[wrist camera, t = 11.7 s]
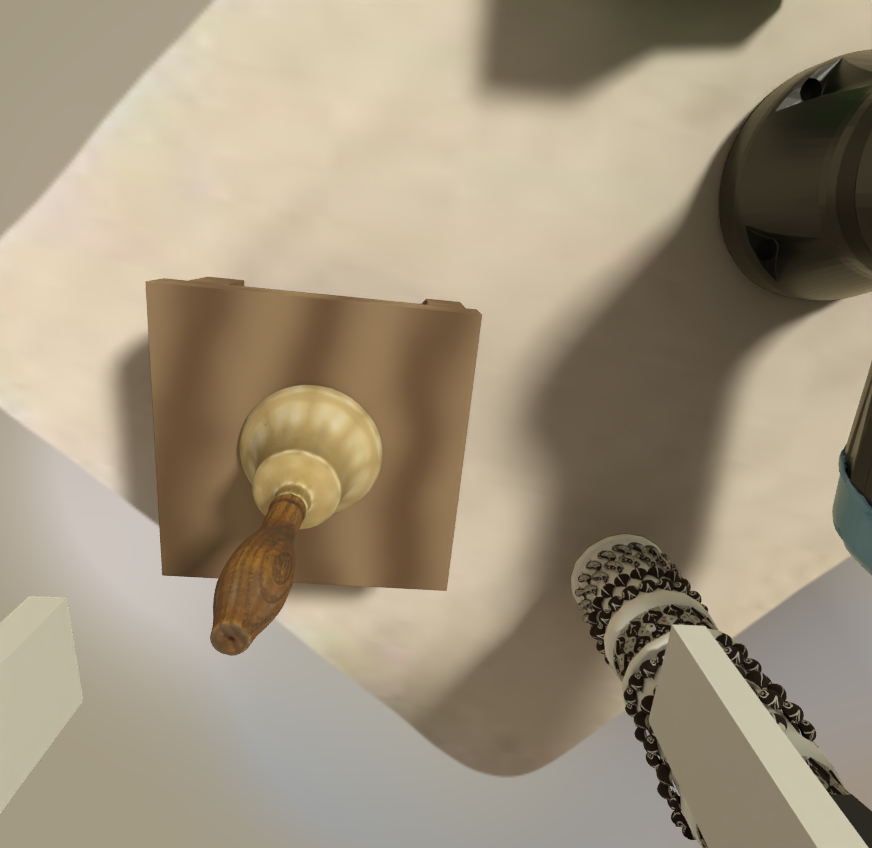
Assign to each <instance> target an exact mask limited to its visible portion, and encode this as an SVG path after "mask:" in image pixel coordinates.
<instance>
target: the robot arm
mask: <svg viewBox="0 0 872 848" xmlns="http://www.w3.org/2000/svg"><path fill="white" fill-rule="evenodd" d="M719 209H720V221H721V227H722V232H723V236H724V239H725V242H726V245H727V247H728V249H729V252H730V254H731V256H732V257H733V259H734V261H735V262H736V264H737V265H738V266H739V268H740V269H741V270H742V271H743V272H744V273H745V274H746V275H747V276H748V277H749V278H750V279H751V280H752V281H754V282H755V283H756V284H758V285H759V286H761V287H763V288H764V289H766V290H769V291H771V292H773V293H776V294H779V295H783V296H787V297H794V298H801V299H808V300H837V299H844V298H849V297H853V296H857V295H860V294H864V293H868V292H871V291H872V50H863V51H857V52H852V53H848V54H844V55H841V56H838V57H835V58H833V59H830V60H828V61H825V62H823V63H821V64H818V65H816V66H813V67H811V68H809V69H806V70H804V71H802V72H800V73H798V74H797V75H795V76H793V77H792V78H790V79H789V80H787V81H786V82H784V83H783V84H781V85H780V86H779V87H778V88H776V89H775V90H774V91H773V92H772V93H771V94H770V95H769V96H767V97H766V98H765V99H764V101H763V102H762V103H761V104H760V105H759V106H758V107H757V108H756V109H755V111H754V112H753V113H752V114H751V116H750V117H749V119H748V120H747V121H746V123H745V124H744V126H743V128H742V129H741V131H740V133H739V134H738V136H737V138H736V140H735V142H734V144H733V146H732V149H731V151H730V154H729V156H728V159H727V162H726V165H725V169H724V172H723V177H722V182H721V189H720V201H719ZM839 472H840V477H839V481H838V486H837V490H836V495H835V499H834V504H833V511H832V513H833V522H834V526H835V529H836V531H837V533H838V534H839V536H840V537H841V539H842V540H843V542H844V544H845V547H846V549H847V550H848V552H849V553H850V554H851V555H852V556H853V557H854V558H855V560H856V561H857V562H858V563H859V564H860V565H861V566H862V567H863V568H864V569H865V570H866V571H868V572H869V573H870V574H871V575H872V362H871V366H870V369H869V373H868V376H867V379H866V383H865V386H864V389H863V392H862V396H861V399H860V402H859V406H858V409H857V412H856V416H855V419H854V422H853V425H852V429H851V432H850V435H849V439H848V442H847V444H846V446H845V447H844V449H843V450H842V452H841V454H840V456H839ZM82 702H83V695H82V689H81V683H80V677H79V670H78V664H77V658H76V653H75V646H74V639H73V634H72V627H71V621H70V615H69V609H68V602H67V598H62V597H39V596H29V597H28V598H27V599H26V600H25V601H24V602H22V603H21V604H20V605H19V606H18V607H17V608H16V609H15V610H14V611H13V612H12V613H10V614H9V615H8V616H7V617H6V618H5V619H4V620H3V621H2V622H0V814H1V812H2V811H3V809H4V808H5V807H6V805H7V804H8V803H9V801H10V800H11V799H12V797H13V796H14V795H15V793H16V792H17V790H18V789H19V788H20V786H21V785H22V784H23V782H24V781H25V779H26V778H27V777H28V775H29V774H30V773H31V771H32V770H33V769H34V767H35V766H36V764H37V763H38V762H39V760H40V759H41V758H42V756H43V755H44V754H45V752H46V751H47V749H48V748H49V747H50V745H51V744H52V743H53V741H54V740H55V739H56V737H57V736H58V735H59V733H60V732H61V730H62V729H63V728H64V726H65V725H66V724H67V722H68V721H69V720H70V718H71V717H72V715H73V714H74V713H75V711H76V710H77V708H78V707H79V706H80V704H81V703H82ZM648 721H649V723H650V725H651V728H652V730H653V732H654V734H655V736H656V738H657V740H658V742H659V745H660V747H661V749H662V751H663V753H664V755H665V757H666V759H667V762H668V764H669V766H670V768H671V770H672V772H673V774H674V776H675V778H676V781H677V783H678V785H679V787H680V789H681V791H682V793H683V795H684V798H685V800H686V802H687V804H688V806H689V808H690V810H691V812H692V815H693V817H694V819H695V821H696V823H697V825H698V827H699V829H700V831H701V834H702V836H703V838H704V840H705V842H706V844H707V846H708V848H872V811H871V810H869V809H868V808H867V807H866V806H865V805H864V804H862V803H861V802H860V801H859V800H858V799H857V798H855V797H854V796H853V795H843V794H829V793H828V792H827V791H826V789H825V788H824V786H823V785H822V784H821V782H820V781H819V780H818V778H817V777H816V776H815V774H814V773H813V771H812V770H811V769H810V767H809V766H808V765H807V763H806V762H805V761H804V759H803V758H802V757H801V755H800V754H799V752H798V751H797V750H796V748H795V747H794V746H793V744H792V743H791V742H790V740H789V739H788V737H787V736H786V735H785V733H784V732H783V731H782V729H781V728H780V727H779V725H778V724H777V723H776V721H775V720H774V718H773V717H772V716H771V714H770V713H769V712H768V710H767V709H766V708H765V706H764V705H763V703H762V702H761V701H760V699H759V698H758V697H757V695H756V694H755V693H754V691H753V690H752V689H751V687H750V686H749V684H748V683H747V682H746V680H745V679H744V678H743V676H742V675H741V674H740V672H739V671H738V669H737V668H736V667H735V665H734V664H733V663H732V661H731V660H730V659H729V657H728V656H727V655H726V653H725V652H724V650H723V649H722V648H721V646H720V645H719V644H718V642H717V641H716V640H715V638H714V637H713V635H712V634H711V633H710V631H709V630H708V629H707V627H706V626H697V625H674V624H672V626H671V630H670V634H669V639H668V643H667V647H666V651H665V655H664V659H663V663H662V667H661V671H660V675H659V679H658V683H657V687H656V691H655V695H654V699H653V704H652V708H651V712H650V716H649V720H648Z"/></svg>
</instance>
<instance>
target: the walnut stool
mask: <svg viewBox="0 0 872 848" xmlns="http://www.w3.org/2000/svg"><path fill="white" fill-rule="evenodd" d="M146 298H147V315H148V333H149V350H150V368H151V385H152V403H153V420H154V438H155V455H156V473H157V490H158V508H159V525H160V542H161V559H162V575H167V576H184V577H203V578H219V576H220V574H221V572H222V570H223V568H224V566H225V564H226V562H227V561H228V560H229V558H230V557H231V555H232V554H233V553H234V551H235V550H236V549H237V548H238V546H239V545H240V544H241V543H242V542H243V541H244V540H246V539H247V538H248V537H249V536H251V535H253V534H254V533H256V532H257V531H258V530H259V529H260V527H261V526H262V524H263V521H264V519H265V516H264V515H263V513H262V512H261V511H260V510H259V508H258V507H257V505H256V503H255V500H254V496H253V492H252V484H251V483H250V481H249V480H248V478H247V476H246V474H245V472H244V469H243V466H242V463H241V458H240V451H239V444H240V437H241V432H242V429H243V426H244V424H245V421H246V419H247V417H248V416H249V414H250V413H251V412H252V410H253V409H254V408H255V407H256V406H257V405H258V404H259V403H260V402H261V401H262V400H264V399H265V398H266V397H268V396H269V395H271V394H273V393H275V392H277V391H279V390H282V389H285V388H288V387H292V386H298V385H315V386H323V387H327V388H332V389H334V390H337V391H339V392H341V393H343V394H345V395H347V396H349V397H350V398H352V399H353V400H354V401H356V402H357V403H359V404H360V406H361V407H362V408H363V409H364V410H365V411H366V412H367V413H368V414H369V415H370V417H371V418H372V420H373V421H374V423H375V425H376V427H377V429H378V432H379V435H380V438H381V442H382V453H383V455H382V464H381V469H380V472H379V475H378V478H377V480H376V482H375V483H374V485H373V487H372V488H371V489H370V491H369V492H368V493H367V494H366V495H365V496H364V497H363V498H362V499H361V500H360V501H359V502H357V503H356V504H354V505H353V506H351V507H349V508H347V509H345V510H343V511H340V512H338V513H334V514H332V515H331V517H329V518H328V519H327V520H326V521H324V522H323V523H321V524H319V525H317V526H314V527H311V528H307V529H299V530H298V533H297V535H296V537H295V539H294V543H293V546H294V552H295V571H294V577H293V582H294V583H312V584H331V585H349V586H367V587H385V588H404V589H422V590H440V591H447V583H448V575H449V568H450V560H451V552H452V544H453V537H454V529H455V521H456V513H457V505H458V498H459V490H460V482H461V474H462V467H463V459H464V451H465V443H466V436H467V428H468V420H469V412H470V404H471V397H472V389H473V381H474V373H475V366H476V358H477V350H478V342H479V334H480V327H481V319H482V314H481V313H480V312H478V311H477V310H475V309H466V308H465V307H464V306H463V305H462V304H461V303H460V302H453V301H443V300H433V299H426V305H425V304H415V303H405V302H395V301H385V300H375V299H365V298H355V297H345V296H335V295H325V294H315V293H305V292H295V291H285V290H275V289H265V288H255V287H245V286H244V280H235V279H225V278H215V277H205V278H200V279H195V280H190V281H184V280H174V279H158V280H152V281H146Z"/></svg>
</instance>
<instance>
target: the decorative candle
mask: <svg viewBox="0 0 872 848" xmlns="http://www.w3.org/2000/svg"><path fill="white" fill-rule="evenodd" d="M571 586H572V594H573V596H574V598H575V599H576V601H577V602H578V604H577V608H578V609H579V610H584V611H585V612H587V613H586V614H585V615H584V616H583V618H582V619H583V621H584V622H587V623H588V622H589V623H590V624H591V625H593V626H592V627H591V630H590V635H591V636H592V637H593V638H594V639H597V640H598V642H597V646H596V647H597V650H598V651H599V652H600V653H602V654H605V661H606V663H607V664H608V665H611V667H612V669H613V670H614V672H615V673H616V674H617V676H618V677H619V679H620V680H621V682H622V689H623V699H624V703H625V705H626V707H625V710H626V712H627V713H628V715H630V716H631V717H634V723H635V725H636V726H637V727H638V728H637V729H636V731H635V737H636V738H637V739H638V740H639V741H640V742H643V744H644V748H645V750H646V751H647V754H646V760H647V762H648V764H649V765H650V766H651V767H653V768H656V772H657V778H658V780H659V781H660V783H659V785H658V788H657V790H658V793H659V794H660V795H661V796H662V797H663V798H664V799H667V802H668V805H669V806H670V808H671V809H673V810H674V812H673V813H672V815H671V820H672V821H673V823H675V825H676V826H677V827H682V832H683V835H684V836H685V837H687V838H688V839H690V840H696V839H697V841H698V842H699V843H700V845H701V846H702V848H708V846H707V844H706V842H705V840H704V838H703V836H702V834H701V831H700V829H699V827H698V825H697V823H696V821H695V819H694V817H693V815H692V812H691V810H690V808H689V806H688V804H687V802H686V800H685V798H684V795H683V793H682V791H681V789H680V787H679V785H678V783H677V781H676V778H675V776H674V774H673V772H672V770H671V768H670V766H669V764H668V762H667V759H666V757H665V755H664V753H663V751H662V749H661V747H660V745H659V742H658V740H657V738H656V736H655V734H654V732H653V730H652V728H651V725H650V723H649V721H648V720H649V716H650V712H651V708H652V704H653V699H654V695H655V691H656V687H657V683H658V679H659V675H660V671H661V667H662V663H663V659H664V655H665V651H666V647H667V643H668V639H669V634H670V630H671V626H672V624H674V625H697V626H706V627H707V629H708V630H709V631H710V633H711V634H712V635H713V637H714V638H715V640H716V641H717V642H718V644H719V645H720V646H721V648H722V649H723V650H724V652H725V653H726V655H727V656H728V657H729V659H730V660H731V661H732V663H733V664H734V665H735V667H736V668H737V669H738V671H739V672H740V674H741V675H742V676H743V678H744V679H745V680H746V682H747V683H748V684H749V686H750V687H751V689H752V690H753V691H754V693H755V694H756V695H757V697H758V698H759V699H760V701H761V702H762V703H763V705H764V706H765V708H766V709H767V710H768V712H769V713H770V714H771V716H772V717H773V718H774V720H775V721H776V723H777V724H778V725H779V727H780V728H781V729H782V731H783V732H784V733H785V735H786V736H787V737H788V739H789V740H790V742H791V743H792V744H793V746H794V747H795V748H796V750H797V751H798V752H799V754H800V755H801V757H802V758H803V759H804V761H805V762H806V763H807V765H808V766H809V767H810V769H811V770H812V771H813V773H814V774H815V776H816V777H817V778H818V780H819V781H820V782H821V784H822V785H823V786H824V788H825V789H826V791H827V792H828V793H829V794H843V795H851V794H850V793H849V792H848V791H847V790H846V789H845V788H844V787H843V783H842V781H841V779H840V778H839V776H838V775H837V772H836V771H835V769H834V767H833V766H832V764H831V763H830V762H829V761H828V759H827V758H826V757H825V756H824V755H823V753H822V752H821V751H820V750H819V748H818V746H817V745H816V744H815V743H814V742H813V740H814V739H815V738H816V731H815V729H814V727H813V726H812V725H811V724H810V723H809V722H808V721H806V720H803V716H804V715H803V711H802V709H801V708H800V707H799V706H797V705H796V704H794V703H790V702H787V701H785V700H786V691H785V689H784V688H783V687H782V686H781V685H778V684H772V682H771V680H770V679H769V678H768V677H767V676H766V675H764V674H763V673H761V665H760V663H759V662H757V661H756V660H754V659H751V658H747V657H748V651H747V649H746V647H745V646H744V645H742V644H739V643H738V642H737V641H735V640H734V639H732V638H731V637H730V636H728V635H727V634H724V633H722V632H721V631H719V630H718V628H717V627H716V625H715V623H714V622H713V620H712V618H711V617H710V615H709V614H708V608H707V607H706V606H705V605H703V604H700V603H701V596H700V594H699V593H698V592H696V591H690V588H691V586H690V583H689V582H688V580H686V579H683V578H682V577H681V574H680V571H679V569H678V567H677V566H676V565H674V564H671V560H670V558H669V557H668V556H667V555H666V554H663V553H662V552H661V550H660V548H659V547H658V546H657V545H655V544H654V543H652V542H651V541H649V540H648V539H646V538H644V537H642V536H636V535H630V534H620V535H615V536H610V537H605V538H604V539H602V540H600V541H598V542H597V543H595V544H593V545H591V546H590V547H588V548H587V549H586V551H585V552H584V553H583V554H582V555H581V556H580V558H579V559H578V560H577V561H576V563H575V566H574V569H573V572H572V575H571ZM781 709H782V711H783V713H782V712H781V711H780V710H781ZM793 721H795V723H793ZM646 729H647V730H648V732H649V734H650V735H648V736H647V734H646ZM799 729H800V731H801V734H802V736H801V735H800V731H799ZM657 755H659V756H660V760H659V758H658V757H657ZM661 758H662V759H661ZM672 780H673V782H674V784H675V785H676V788H677V790H678V792H679V794H680V796H678V795H677V793H676V792H674V791H673V790H672V791H671V789H670V786H673V782H672ZM673 787H674V786H673ZM681 811H682V813H683V814H682V813H681ZM683 815H684V816H683Z"/></svg>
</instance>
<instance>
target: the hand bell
mask: <svg viewBox="0 0 872 848" xmlns="http://www.w3.org/2000/svg"><path fill="white" fill-rule="evenodd" d="M239 451H240V458H241V463H242V466H243V469H244V472H245V474H246V476H247V478H248V480H249V481H250V483H251V484H252V492H253V496H254V500H255V503H256V505H257V507H258V508H259V510H260V511H261V512H262V513H263V515H264V516H265V519H264V521H263V524H262V526H261V527H260V529H259V530H258V531H257V532H256V533H254V534H253V535H251V536H249V537H248V538H247V539H246V540H244V541H243V542H242V543H241V544H240V545H239V546H238V548H237V549H236V550H235V551H234V553H233V554H232V555H231V557H230V558H229V560H228V561H227V562H226V564H225V566H224V568H223V570H222V572H221V574H220V576H219V579H218V581H217V585H216V589H215V594H214V604H213V615H214V618H213V628H212V632H211V636H210V639H211V643H212V645H213V647H214V648H215V649H216V650H217V651H219V652H220V653H223V654H227V655H237V654H240V653H242V652H244V651H245V650H247V648H248V647H249V646H250V644H251V643H252V641H253V640H254V639H255V637H256V636H257V635H258V634H259V633H260V632H262V630H264V629H265V628H266V627H267V626H268V625H269V623H271V622H272V621H273V619H274V618H275V617H276V616H277V614H278V613H279V612H280V610H281V609H282V607H283V605H284V603H285V601H286V599H287V597H288V594H289V591H290V589H291V586H292V582H293V577H294V571H295V552H294V546H293V543H294V539H295V537H296V535H297V533H298V530H299V529H307V528H311V527H314V526H317V525H319V524H321V523H323V522H324V521H326V520H327V519H328V518H329V517H331V515H332V514H334V513H338V512H340V511H343V510H345V509H347V508H349V507H351V506H353V505H354V504H356V503H357V502H359V501H360V500H361V499H362V498H363V497H364V496H365V495H366V494H367V493H368V492H369V491H370V489H371V488H372V487H373V485H374V483H375V482H376V480H377V478H378V475H379V472H380V469H381V464H382V455H383V453H382V442H381V438H380V435H379V432H378V429H377V427H376V425H375V423H374V421H373V420H372V418H371V417H370V415H369V414H368V413H367V412H366V411H365V410H364V409H363V408H362V407H361V406H360V404H359V403H357V402H356V401H354V400H353V399H352V398H350V397H349V396H347V395H345V394H343V393H341V392H339V391H337V390H334V389H332V388H327V387H323V386H315V385H298V386H292V387H288V388H285V389H282V390H279V391H277V392H275V393H273V394H271V395H269V396H268V397H266V398H265V399H264V400H262V401H261V402H260V403H259V404H258V405H257V406H256V407H255V408H254V409H253V410H252V412H251V413H250V414H249V416H248V417H247V419H246V421H245V424H244V426H243V429H242V432H241V437H240V444H239Z"/></svg>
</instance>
